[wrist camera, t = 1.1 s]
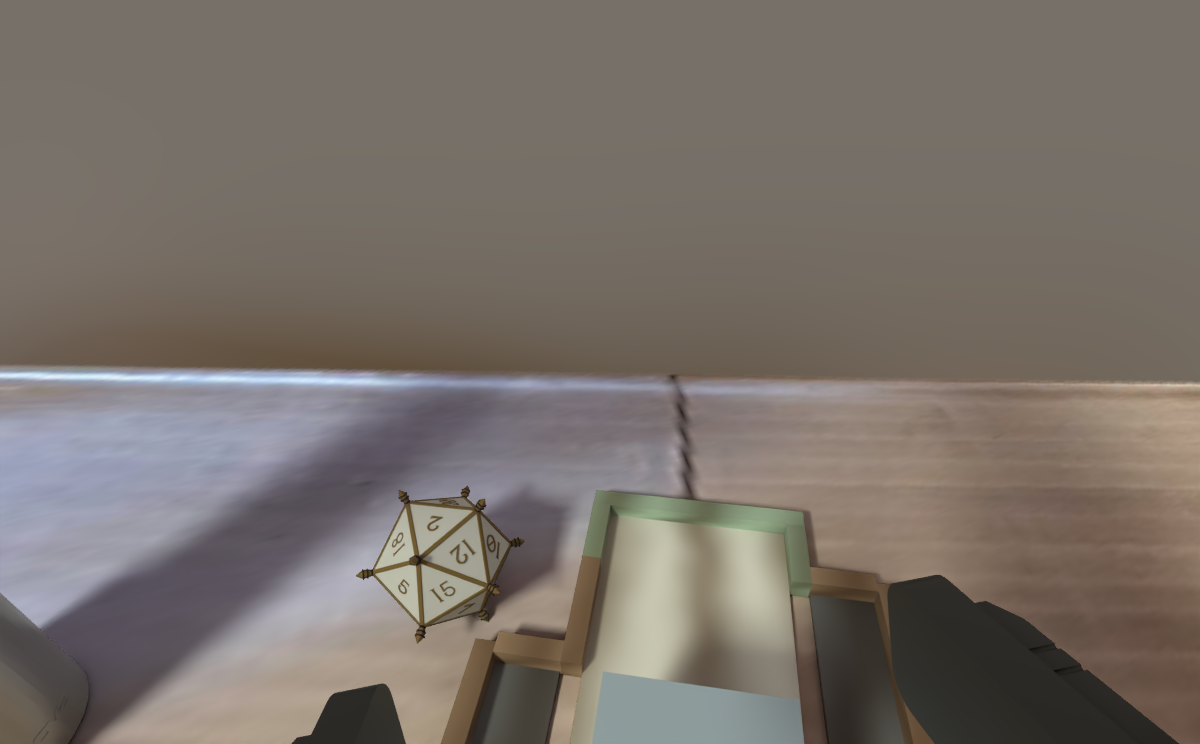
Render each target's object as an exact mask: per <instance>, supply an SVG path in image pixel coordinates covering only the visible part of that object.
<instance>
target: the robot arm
mask: <svg viewBox="0 0 1200 744" xmlns="http://www.w3.org/2000/svg"><path fill="white" fill-rule="evenodd" d="M887 600H888V614H889V628H890V643H891V657H892V668H893V673H894V677H895V681H896V684H897V687H898V689H899V692H900V694H901V696H902V698H903V700H904V702H905V704H906V706H907V707H908V709H909V710H910V712H911V713H912V715H913V716H914V717H915V719H916V720H917V721H918V723H919V724H920V725H921V726H922V728H923V729H924V730H925V732H926V733H927V734H928V736H929V737H930V738H931V740H932V741H933V742H934V744H1179V743H1177V742H1176V741H1175V740H1174V739H1172V738H1171V737H1170V736H1169V735H1167V734H1166V733H1165V732H1164V731H1163V730H1161V729H1160V728H1159V727H1158V726H1156V725H1155V724H1154V723H1153V722H1151V721H1150V720H1149V719H1148V718H1146V717H1145V716H1144V715H1143V714H1141V713H1140V712H1139V711H1138V710H1136V709H1135V708H1134V707H1133V706H1132V705H1130V704H1129V703H1128V702H1127V701H1125V700H1124V699H1123V698H1122V697H1120V696H1119V695H1118V694H1117V693H1115V692H1114V691H1113V690H1112V689H1110V688H1109V687H1108V686H1107V685H1105V684H1104V683H1103V682H1102V681H1101V680H1099V679H1098V678H1097V677H1096V676H1094V675H1093V674H1092V673H1091V672H1089V671H1088V670H1086V671H1084V670H1083V669H1082V667H1081V664H1079V663H1078V662H1077V661H1076V660H1074V659H1073V658H1072V657H1071V656H1069V655H1068V654H1067V653H1066V652H1065V651H1063V650H1062V649H1057V648H1056V646H1055V643H1053V642H1052V641H1051V640H1050V639H1048V638H1047V637H1046V636H1045V635H1043V634H1042V633H1041V632H1040V631H1038V630H1037V629H1036V628H1035V627H1034V626H1032V625H1031V624H1030V623H1029V622H1027V621H1026V620H1025V619H1023V618H1021V617H1019V616H1017V615H1015V614H1013V613H1010V612H1008V611H1006V610H1004V609H1002V608H1000V607H998V606H995V605H993V604H991V603H989V602H987V601H983V602H978V603H974V602H973V601H972V600H971V599H969V598H968V597H967V596H966V595H965V594H964V593H963V592H961V591H960V590H959V589H958V588H957V587H956V586H954V585H953V584H952V583H951V582H950V581H949V580H947V579H946V578H945V577H943V576H941V575H933V576H928V577H923V578H918V579H913V580H908V581H903V582H898V583H893V584H891V585H890V586H889V588H888V593H887ZM88 696H89V683H88V680H87V677H86V674H85V671H84V670H83V669H82V668H81V667H80V666H79V665H78V664H77V663H76V662H75V661H74V660H73V659H72V658H71V657H70V656H69V655H68V654H66V653H65V652H64V651H63V650H62V649H61V648H60V647H59V646H58V645H56V644H55V643H54V642H53V641H52V640H51V639H50V638H49V637H48V636H47V635H45V634H44V632H43V631H42V630H41V629H39V628H38V627H37V626H36V625H35V624H34V623H33V622H32V621H31V620H30V619H28V618H27V617H26V616H25V615H24V614H23V613H22V612H21V611H20V610H18V609H17V608H16V607H15V606H14V605H13V604H12V603H11V602H10V601H8V600H7V599H6V598H5V597H4V596H3V595H2V594H1V593H0V744H68V743H69V741H70V740H71V739H72V737H73V736H74V734H75V732H76V730H77V728H78V726H79V724H80V722H81V720H82V718H83V716H84V713H85V709H86V705H87V702H88ZM292 744H406V743H405V739H404V736H403V732H402V729H401V726H400V722H399V719H398V715H397V712H396V708H395V705H394V701H393V698H392V695H391V692H390V690H389V688H388V687H387V685H385V684H378V685H373V686H368V687H363V688H358V689H353V690H347V691H342V692H337V693H334V694H333V695H332V696H331V697H330V698H329V700H328V701H327V703H326V705H325V707H324V710H323V712H322V714H321V716H320V718H319V720H318V722H317V724H316V726H315V728H314V730H313V732H312V734H311V735H308V736H303V737H298V738H296V739H295V741H294V742H293V743H292Z"/></svg>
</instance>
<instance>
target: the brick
mask: <svg viewBox="0 0 1200 744" xmlns="http://www.w3.org/2000/svg"><path fill="white" fill-rule="evenodd" d="M592 744H804V739H803V729H802V719H801V709H800V700H794V699H787V698H781V697H774V696H767V695H760V694H753V693H747V692H740V691H733V690H726V689H719V688H713V687H706V686H699V685H692V684H685V683H679V682H672V681H665V680H658V679H652V678H645V677H638V676H631V675H624V674H618V673H611V672H604V671H603V675H602V681H601V688H600V694H599V701H598V707H597V714H596V720H595V727H594V734H593V740H592Z"/></svg>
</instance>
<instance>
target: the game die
mask: <svg viewBox="0 0 1200 744" xmlns="http://www.w3.org/2000/svg"><path fill="white" fill-rule="evenodd" d="M469 493H470V490H469V487H468V486H466V487H465V488H464V489H462V492H461V495H462V496H461V497H452V498H440V499H427V500H415V501H410V500H409V496H408V495H407V492H406V493H405V492H403V491H400V490H399V497H398V498H399V499H401V502H403V503H404V504H405V505H404V507H403V509H402V511H401V513H400V515H399V517H398V519H397V521H396V523H395V525H394V527H393V529H392V531H391V533H390V535H389V537H388V539H387V541H386V543H385V545H384V547H383V549H382V551H381V553H380V555H379V557H378V559H377V561H376V564H375V566H374V568H373V569H372V570H368V569H367V570H363V569H362V571H361V572H360V573H359V574H357V575H356V576H357V577H359V578H362V579H363V580H364V579H365V578H367V579H368V577H370V576H374V577H375V578H376V579H377V580H378V581H379V583H380V584H381V585H382V586H383V587H384V588H385V589H386V590H387V591H388V592H389V593H390V594H391V596H392V597H393V598H394V599H395V600H396V601H397V602H398V603H399V604H400V605H401V606H402V608H403V609H404V610H405V611H406V612H407V613H408V614H409V615H410V616H411V617H412V618H413V620H414V621H415V622H416V623H417V624H418V625H419V626H420V627H419V629H418V630H417V633H416V634H415V637H416V641H417V643H419V642H420V641H421V640H422V639H423V638H425V637H424V635H425V634H426V632H425V628H426V627H428V626H432V625H435V624H439V623H442V622H446V621H449V620H453V619H457V618H460V617H464V616H467V615H471V614H474V613H479V617H481V620H484V621H487V622H489V614H488V613H487V612H486V610H483V608H484V606H485V604H486V601H487V599H488V597H489V595H490V593H491V594H493V595H494V596H495V595H496V594H500V591H499V586H496V584H495V581H496V579H497V577H498V575H499V573H500V570H501V568H502V566H503V564H504V562H505V559H506V557H507V555H508V553H509V551H510V548H511V547H512V546H514V547H517V546H519V547H520V545H521V544H522V543H523V542H524V540H521V539H519V537H518V538H517V539H514V540H512V541H510V540H509V539H508V538H507V537H506V536H505V535H504V534H503V533H502V532H501V531H500V530H499V529H498V528H497V527H496V526H495V525H494V524H493V523H492V522H491V521H490V520H489V519H488V518H487V517H486V516H485V515H484V514H483V513H482V512H481V510H484V507H486V504H485V499H482V500H479V501H478V502H477V504H476V506H475V505H474V504H473V503H472V502H470V501H469V500H468V499H467V496H469Z"/></svg>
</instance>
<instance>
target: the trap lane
mask: <svg viewBox="0 0 1200 744" xmlns="http://www.w3.org/2000/svg"><path fill="white" fill-rule="evenodd" d="M890 585H891V584H882V583H877V581H876V576H875V574H867V573H859V572H850V571H842V570H833V569H825V568H816V567H810V561H809V554H808V546H807V539H806V531H805V524H804V516H803V512H799V511H789V510H780V509H770V508H761V507H751V506H742V505H733V504H723V503H714V502H704V501H695V500H685V499H676V498H666V497H657V496H648V495H638V494H629V493H619V492H610V491H600V490H596V494H595V499H594V504H593V508H592V513H591V518H590V522H589V527H588V532H587V537H586V541H585V546H584V551H583V555H582V560H581V565H580V570H579V574H578V579H577V584H576V588H575V593H574V598H573V603H572V607H571V612H570V617H569V622H568V626H567V631H566V636H565V640H564V641H563V640H556V639H549V638H541V637H534V636H527V635H520V634H513V633H506V632H499V633H498V636H497V639H496V641H490V640H484V639H477V638H476V640H475V643H474V646H473V649H472V652H471V655H470V658H469V661H468V664H467V667H466V670H465V673H464V676H463V679H462V682H461V685H460V688H459V691H458V694H457V697H456V700H455V703H454V706H453V709H452V712H451V715H450V718H449V721H448V724H447V727H446V730H445V733H444V736H443V739H442V742H441V744H546V739H547V734H548V729H549V724H550V720H551V715H552V710H553V705H554V701H555V696H556V691H557V686H558V681H559V677H560V674H563V675H570V676H577V677H581V682H580V688H579V693H578V699H577V705H576V710H575V716H574V721H573V727H572V732H571V738H570V743H569V744H592V740H593V734H594V727H595V720H596V714H597V707H598V701H599V694H600V688H601V681H602V675H603V671H604V672H611V673H618V674H624V675H631V676H638V677H645V678H652V679H658V680H665V681H672V682H679V683H685V684H692V685H699V686H706V687H713V688H719V689H726V690H733V691H740V692H747V693H753V694H760V695H767V696H774V697H781V698H787V699H794V700H800V694H799V684H798V674H797V664H796V654H795V644H794V633H793V623H792V613H791V603H790V595H794V596H802V597H810V605H811V613H812V621H813V629H814V637H815V645H816V653H817V661H818V668H819V676H820V684H821V692H822V700H823V708H824V716H825V724H826V732H827V740H828V744H934V742H933V741H932V740H931V738H930V737H929V736H928V734H927V733H926V732H925V730H924V729H923V728H922V726H921V725H920V724H919V723H918V721H917V720H916V719H915V717H914V716H913V715H912V713H911V712H910V710H909V709H908V707H907V706H906V704H905V702H904V700H903V698H902V696H901V694H900V692H899V689H898V687H897V684H896V681H895V677H894V673H893V668H892V657H891V643H890V628H889V614H888V600H887V593H888V588H889V586H890ZM800 709H801V705H800ZM801 719H802V715H801ZM802 729H803V725H802ZM803 739H804V735H803Z"/></svg>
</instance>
